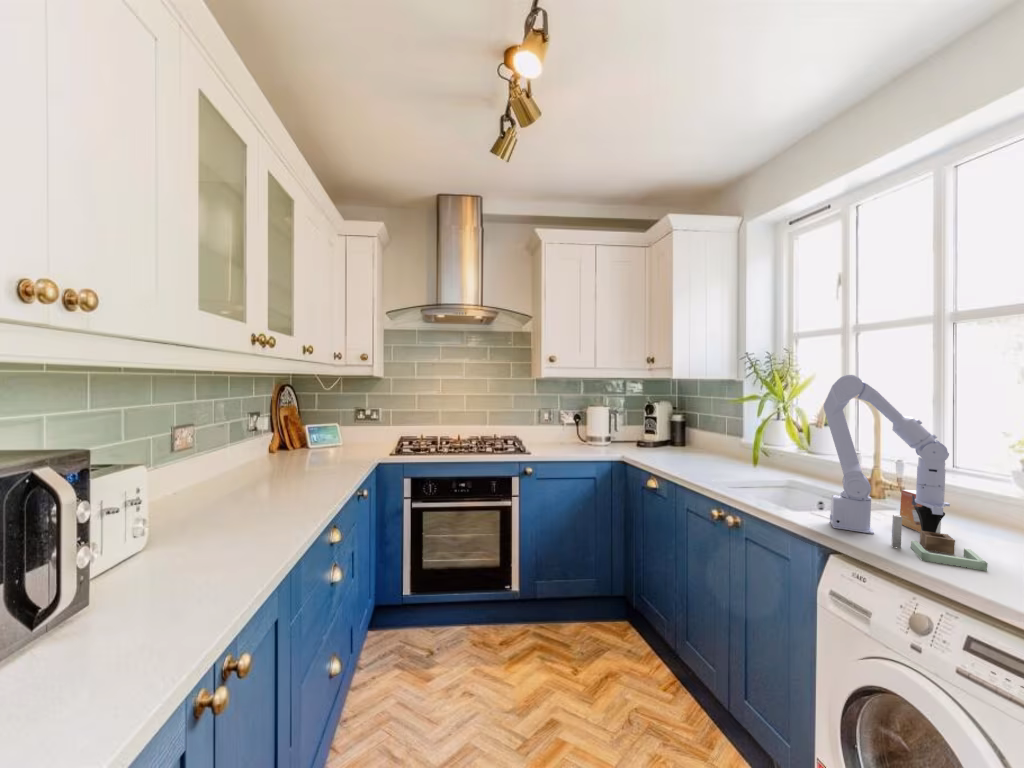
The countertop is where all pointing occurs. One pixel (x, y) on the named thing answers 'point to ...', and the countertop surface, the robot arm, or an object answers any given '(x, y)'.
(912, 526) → the small box
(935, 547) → the walnut block
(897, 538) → the grey upright post
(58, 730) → the countertop surface
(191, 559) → the countertop surface
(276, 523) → the countertop surface
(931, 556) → the green u-shaped bracket
